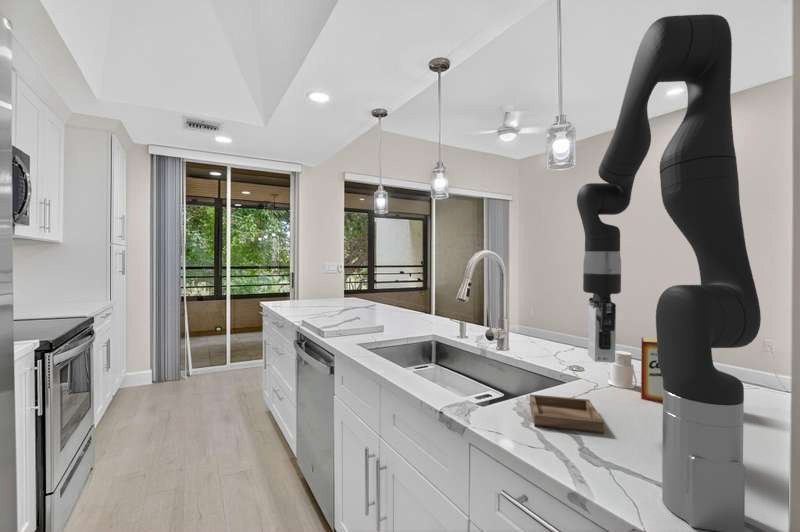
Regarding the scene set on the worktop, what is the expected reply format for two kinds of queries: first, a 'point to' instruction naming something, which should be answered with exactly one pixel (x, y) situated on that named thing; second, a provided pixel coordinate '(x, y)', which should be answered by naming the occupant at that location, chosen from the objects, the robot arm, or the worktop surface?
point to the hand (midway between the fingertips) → (600, 345)
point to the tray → (565, 414)
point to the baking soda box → (650, 371)
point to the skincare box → (593, 339)
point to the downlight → (622, 371)
